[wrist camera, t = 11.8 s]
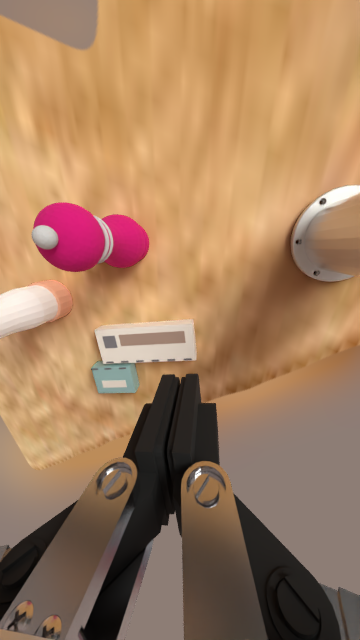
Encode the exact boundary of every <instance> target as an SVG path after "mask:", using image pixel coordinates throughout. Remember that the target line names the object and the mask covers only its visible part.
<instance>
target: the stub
mask: <svg viewBox="0 0 360 640" xmlns="http://www.w3.org/2000/svg"><path fill="white" fill-rule="evenodd" d="M91 370H92V372H93V376H94V379H95V383H96V386H97V390H98V393H136V391H137V389H138V387H139V381H138V376H137V371H136V367H135V363H112V364H103V361H97V362H96V363H95V365H94V366H93V367H92V368H91Z"/></svg>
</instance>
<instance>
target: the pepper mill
mask: <svg viewBox="0 0 360 640" xmlns="http://www.w3.org/2000/svg"><path fill="white" fill-rule="evenodd" d="M32 239H33V241H34V243H35V244H36V246H37V248H38V250H39V252H40V253H41V254H42V256H43V257H44V258H45V259H46V260H47V261H48V262H49V263H51V264H52V265H54V266H55V267H57V268H59V269H62V270H65V271H70V272H80V271H85V270H88V269H90V268H92V267H94V266H95V265H96V264H99V263H102V262H106V263H107V264H109V265H111V266H114V267H118V268H125V267H130V266H132V265H134V264H136V263H137V262H138V261H140V260H142V259H143V258H144V257H145V256H146V254H147V252H148V249H149V239H148V235H147V233H146V232H145V230H144V229H143V228H142V227H141V226H140V225H138V224H137V223H136V222H135V221H134V220H133V219H131V218H129V217H127V216H124V215H118V214H117V215H110V216H106V217H104V218H103V219H100V218H98V217H96V216H93V215H92V214H91V213H90V212H89V211H87V210H85V209H84V208H82V207H80V206H78V205H75V204H71V203H54V204H51V205H49V206H47V207H45V208H44V209H43V210H42V211H40V212H39V214H38V215H37V217H36V219H35V222H34V228H33V231H32Z"/></svg>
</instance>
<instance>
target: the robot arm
mask: <svg viewBox="0 0 360 640" xmlns="http://www.w3.org/2000/svg"><path fill="white" fill-rule="evenodd" d="M320 201H321V205H320V204H319V202H320ZM296 240H297V241H298V243H297V244H296V243H295V242H296ZM291 254H292V257H293V260H294V262H295V263H296V265H297V267H298V268H299V269H300V270H301V271H302V272H303V273H304V274H306V275H307V276H309V277H311V278H314V279H317V280H321V281H328V282H334V281H342V280H345V279H349V278H351V277H354V276H357V277H360V185H346V186H342V187H338V188H335V189H333V190H331V191H328V192H326V193H325V194H323V195H321V196H319V197H318V198H317V199H315V200H314V201H313V202H311V203H310V204H309V205H308V206H307V207H306V209H305V210H304V211H303V212H302V214H301V215H300V216H299V218H298V220H297V222H296V224H295V226H294V228H293V232H292V236H291ZM314 271H315V274H313V273H314ZM174 512H176V517H177V522H178V528H179V532H180V535H181V537H182V569H183V621H184V640H360V595H357V594H355V593H352V592H350V591H348V590H345V589H343V588H341V587H339V588H338V591H337V590H335V589H332V588H330V587H327V586H325V585H323V584H321V583H318V582H317V580H316V579H315V578H314V577H313V575H312V574H311V573H310V572H309V571H308V570H307V569H306V568H305V567H304V566H303V565H302V564H301V563H300V562H299V561H298V560H297V559H296V558H295V557H294V556H293V555H292V554H291V553H290V552H289V550H288V549H287V548H286V547H285V546H284V545H283V544H282V543H281V542H280V541H279V540H278V539H277V538H276V537H275V536H274V535H273V534H272V533H271V532H270V531H269V530H268V529H267V528H266V527H265V526H264V525H263V523H262V522H261V521H260V520H259V519H258V518H257V517H256V516H255V515H254V514H253V513H252V512H251V511H250V510H249V509H248V508H247V507H246V506H245V505H244V504H243V503H242V502H241V501H240V500H239V499H238V497H236V495H234V493H233V490H232V486H231V482H230V479H229V477H228V475H227V473H226V472H225V471H224V470H223V468H222V467H220V465H219V445H218V427H217V412H216V403H201V395H200V386H199V377H198V374H186V377H182V379H181V384H180V380H179V377H175V375H174V374H169V375H162V378H161V381H160V383H159V386H158V389H157V392H156V394H155V397H154V400H153V402H152V403H146V404H145V405H144V407H143V409H142V412H141V414H140V417H139V419H138V421H137V424H136V426H135V429H134V431H133V434H132V436H131V438H130V441H129V443H128V446H127V449H126V451H125V453H124V456H123V458H116V459H113V460H111V461H109V462H107V463H106V464H104V465H103V466H102V467H101V468H100V469H99V470H98V471H97V472H96V474H95V475H94V477H93V478H92V480H91V481H90V483H89V484H88V486H87V488H86V489H85V491H84V492H83V494H82V495H81V497H80V498H79V500H77V501H76V502H75V503H73V504H72V505H70V506H69V507H68V508H66V509H65V510H63V511H62V512H61V513H59V514H58V515H56V516H55V517H54V518H52V519H51V520H49V521H48V522H47V523H45V524H44V525H42V526H41V527H40V528H38V529H37V530H36V531H34V532H33V533H31V534H30V535H28V536H27V537H26V538H24V539H23V540H22V541H20V542H19V543H18V544H17V545H16V546H14V547H13V548H10V547H9V545H4V546H0V640H125V637H126V634H127V630H128V627H129V624H130V620H131V617H132V614H133V610H134V607H135V603H136V600H137V597H138V593H139V590H140V587H141V583H142V580H143V577H144V574H145V570H146V567H147V564H148V560H149V557H150V554H151V550H152V545H153V539H154V538H155V537H156V536H157V535H158V534H159V533H160V531H161V525H168V521H169V514H174Z"/></svg>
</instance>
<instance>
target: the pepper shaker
mask: <svg viewBox="0 0 360 640" xmlns="http://www.w3.org/2000/svg"><path fill="white" fill-rule="evenodd" d="M72 306H73V299H72V296H71V293H70V292H69V290H68V289H67V288H66V287H65V286H64V285H63V284H62V283H60V282H58V281H55V280H46V281H41V282H36V283H31V284H30V285H28V286H27V287H22V288H17V289H12V290H10V291H8V292H5V293H3V294H0V339H1V338H3V337H6V336H8V335H10V334H13V333H17V332H20V331H24V330H28V329H32V328H35V327H37V326H39V325H41V324H43V323H45V322H46V323H47V322H53V321H55V320H57V319H59V318H61V317H63V316H65V315H67V314H68V313H69V312H70V311H71V309H72Z"/></svg>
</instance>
